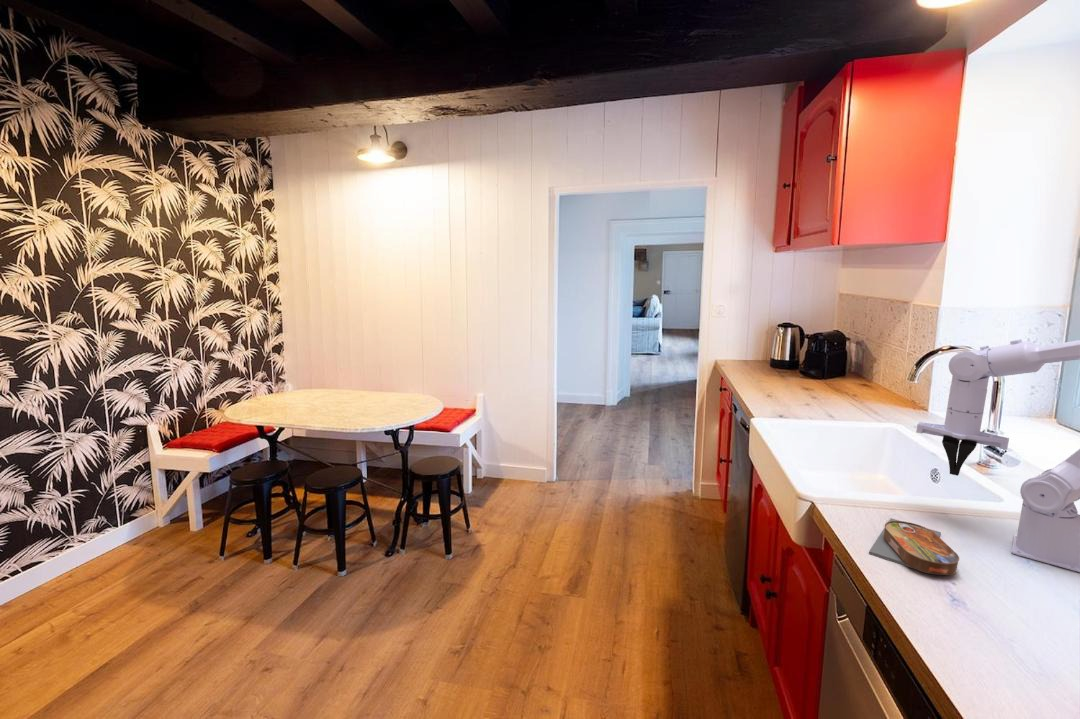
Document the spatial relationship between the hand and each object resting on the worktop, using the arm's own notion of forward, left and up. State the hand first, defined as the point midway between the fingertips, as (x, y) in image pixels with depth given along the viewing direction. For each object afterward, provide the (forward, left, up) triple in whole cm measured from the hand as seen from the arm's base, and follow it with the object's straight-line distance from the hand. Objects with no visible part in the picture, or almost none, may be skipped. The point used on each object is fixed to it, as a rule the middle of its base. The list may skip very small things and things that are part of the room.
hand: (954, 473), depth 109 cm
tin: (-2, +19, -9) cm, 21 cm away
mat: (+4, +17, -10) cm, 20 cm away
